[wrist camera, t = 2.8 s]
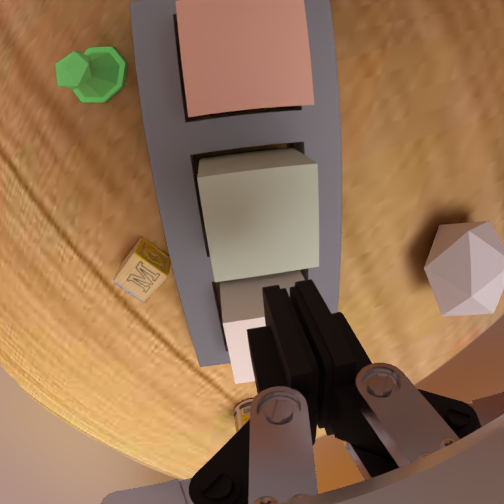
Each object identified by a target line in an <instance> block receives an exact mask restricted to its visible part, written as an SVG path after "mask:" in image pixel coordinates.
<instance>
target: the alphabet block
mask: <svg viewBox="0 0 504 504" xmlns="http://www.w3.org/2000/svg"><path fill="white" fill-rule="evenodd" d="M170 264H171V260H170V257H169V256H168V255H167V254H165V253H164V252H162V251H161V250H160V249H158V248H157V247H156V246H154V245H153V244H152V243H150V242H149V241H147V240H146V239H145V238H143V237H141V238H140V239H139V241H138V242H137V243H136V245H135V246H134V247H133V249H132V250H131V251H130V253H129V254H128V255H127V257H126V258H125V260H124V261H123V262H122V263H121V265H120V267H119V269H118V271H117V273H116V275H115V278H114V283H115V284H117V285H118V286H120V287H121V288H123V289H124V290H125V291H127V292H128V293H130V294H131V295H133V296H134V297H136V298H137V299H139V300H141V301H142V302H143V303H146V302H147V300H148V299H149V298H150V297H151V296H152V294H153V293H154V292H155V291H156V290H157V288H158V287H159V286H160V285H161V284H162V283H163V281H164V280H165V279H166V278H167V277H168V274H169V269H170Z"/></svg>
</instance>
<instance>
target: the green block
mask: <svg viewBox="0 0 504 504" xmlns="http://www.w3.org/2000/svg"><path fill="white" fill-rule="evenodd" d="M197 180H198V186H199V193H200V199H201V205H202V211H203V217H204V223H205V229H206V235H207V241H208V247H209V252H210V258H211V264H212V269H213V275H214V280H215V282H222V281H229V280H236V279H242V278H249V277H256V276H262V275H269V274H275V273H282V272H288V271H295V270H301V269H307V268H313V267H319V194H318V163H316V162H314V161H313V160H311V159H310V158H308V157H307V156H305V155H304V154H302V153H301V152H299V151H298V150H296V149H294V148H284V149H274V150H264V151H255V152H246V153H238V154H230V155H223V156H216V157H209V158H202V159H200V161H199V168H198V175H197Z"/></svg>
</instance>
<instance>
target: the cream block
mask: <svg viewBox="0 0 504 504" xmlns="http://www.w3.org/2000/svg"><path fill="white" fill-rule="evenodd" d="M303 280H305V279H304V277H303V275H302V273H301V271H300V270H295V271H288V272H282V273H275V274H269V275H262V276H256V277H249V278H242V279H236V280H229V281H222V282H219V284H220V296H221V308H222V320H223V327H224V332H225V337H226V342H227V346H228V351H229V356H230V361H231V366H232V370H233V375H234V380H235V384H239V383H245V382H252V381H255V377H254V372H253V367H252V362H251V356H250V350H249V344H248V337H247V329H251V328H257V327H263V326H266V324H265V314H264V304H263V294H262V287H268V286H274V285H279V287H280V289H282V288H286V290H287V292H288V295H289V297H290V287H293V286H295V282H297V281H303Z"/></svg>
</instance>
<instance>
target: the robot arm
mask: <svg viewBox="0 0 504 504" xmlns="http://www.w3.org/2000/svg"><path fill="white" fill-rule="evenodd" d="M262 294H263V304H264V314H265V324H266V326H263V327H257V328H251V329H247V337H248V344H249V350H250V356H251V362H252V367H253V372H254V377H255V382H256V387H257V392H258V395H256V396H255V398H254V399H253V401H252V403H251V407H250V419H249V420H248V421H247V422H246V423H245V424H244V425H243V426H242V428H241V429H240V430H239V431H238V432H237V433H236V434H235V435H234V436H233V437H232V438H231V439H230V440H229V441H228V442H227V443H226V444H225V445H224V446H223V447H222V448H221V449H220V450H219V451H218V452H217V453H216V454H215V455H214V456H213V457H212V458H211V459H210V460H209V461H208V462H207V463H206V464H205V465H204V466H203V467H202V468H201V469H200V470H199V471H198V472H197V473H196V474H195V475H194V476H193V478H190V479H186V480H182V481H179V480H178V479H175V480H171V481H167V482H163V483H158V484H154V485H149V486H144V487H139V488H133V489H128V490H122V491H116V492H113V493H110V494H108V495H107V496H106V497H105V498H104V499H103V500H102V503H101V504H504V392H501V393H498V394H494V395H491V396H487V397H483V398H480V399H475V400H472V401H471V402H470V404H466V403H464V402H461V401H458V400H455V399H451V398H447V397H444V396H440V395H437V394H433V393H429V392H427V391H423V390H420V389H417V388H416V387H415V386H414V385H413V384H412V383H411V381H410V380H409V379H408V378H407V377H406V376H405V375H404V373H403V372H402V371H401V370H399V369H398V368H397V367H395V366H393V365H391V364H386V363H374V364H372V363H371V361H370V359H369V358H368V356H367V354H366V352H365V351H364V349H363V347H362V346H361V344H360V342H359V340H358V339H357V337H356V335H355V334H354V332H353V330H352V329H351V327H350V325H349V324H348V322H347V320H346V319H345V317H344V315H343V314H342V313H341V312H337V313H332V314H331V312H330V310H329V309H328V307H327V305H326V303H325V301H324V300H323V298H322V296H321V294H320V293H319V291H318V289H317V287H316V286H315V284H314V282H313V281H312V279H309V280H303V281H297V282H295V286H293V287H290V297H289V295H288V292H287V290H286V288H282V289H280V287H279V285H274V286H268V287H262ZM317 425H318V427H319V428H325V430H326V433H327V435H332V434H334V435H335V437H336V438H338V439H341V440H343V443H344V446H345V448H346V450H347V451H348V453H349V455H350V456H351V458H352V459H353V461H354V463H355V464H356V466H357V468H358V469H359V471H360V473H361V474H362V476H363V477H364V479H365V481H362V482H359V483H355V484H352V485H349V486H346V487H342V488H339V489H336V490H332V491H328V492H324V493H321V494H318V489H317V480H316V473H315V472H316V471H315V463H314V454H313V445H314V443H315V438H316V428H317Z"/></svg>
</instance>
